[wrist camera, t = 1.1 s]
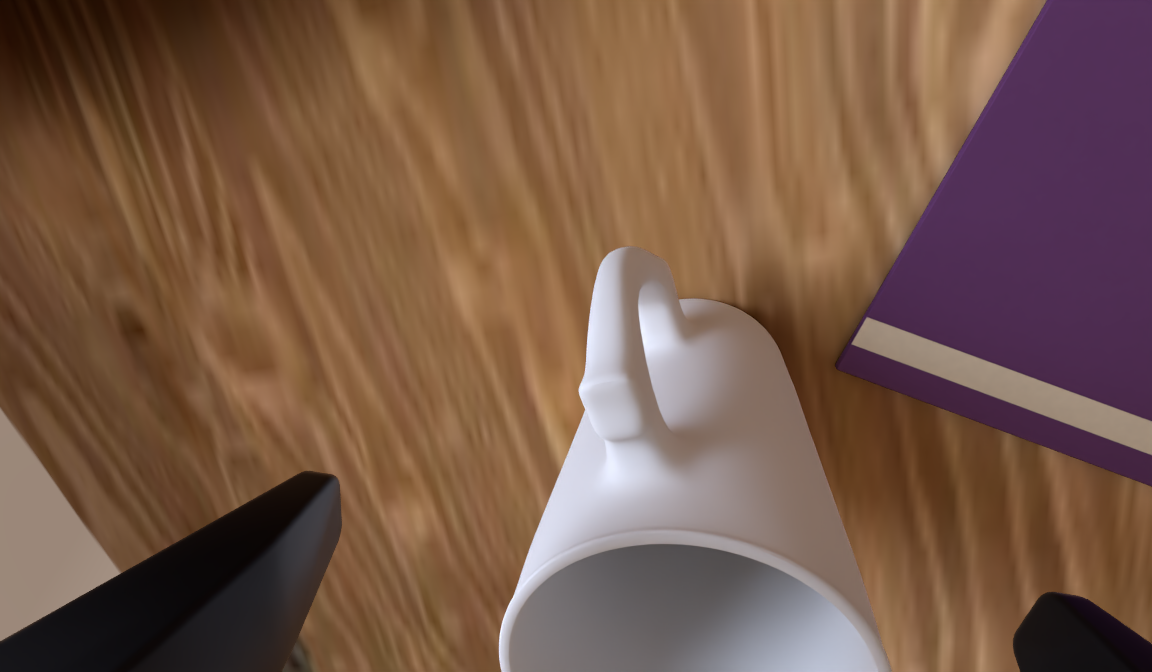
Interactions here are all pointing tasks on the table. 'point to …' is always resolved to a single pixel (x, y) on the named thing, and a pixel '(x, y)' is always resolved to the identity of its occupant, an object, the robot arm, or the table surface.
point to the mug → (687, 506)
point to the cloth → (1038, 252)
